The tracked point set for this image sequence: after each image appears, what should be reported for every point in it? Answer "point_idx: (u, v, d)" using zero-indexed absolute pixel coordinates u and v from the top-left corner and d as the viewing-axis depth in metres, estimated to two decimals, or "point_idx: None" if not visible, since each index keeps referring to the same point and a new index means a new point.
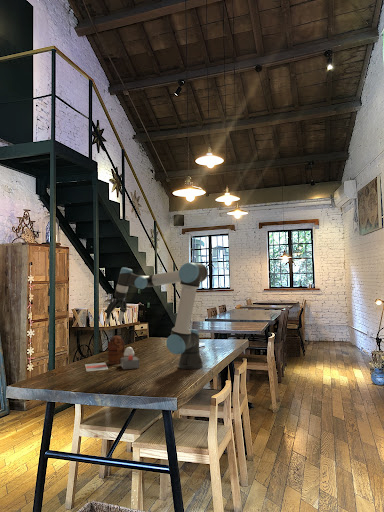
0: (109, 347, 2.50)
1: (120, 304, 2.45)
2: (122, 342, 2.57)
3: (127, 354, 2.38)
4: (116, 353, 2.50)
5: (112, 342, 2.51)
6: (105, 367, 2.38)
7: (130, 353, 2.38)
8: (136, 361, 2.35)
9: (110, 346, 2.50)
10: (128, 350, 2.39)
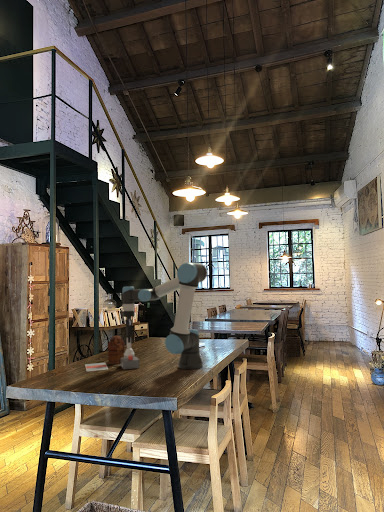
0: (109, 347, 2.50)
1: None
2: (122, 342, 2.57)
3: (127, 355, 2.38)
4: (116, 353, 2.50)
5: (112, 342, 2.51)
6: (105, 367, 2.38)
7: (130, 354, 2.38)
8: (136, 361, 2.35)
9: (110, 346, 2.50)
10: (128, 351, 2.39)
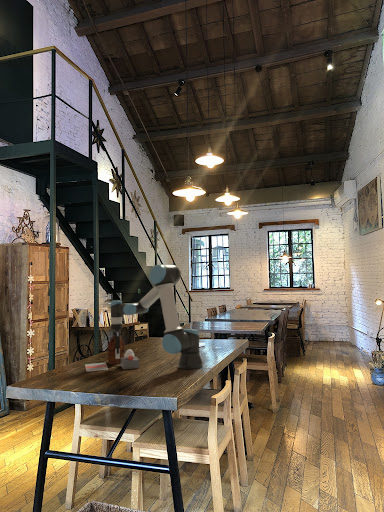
0: (109, 347, 2.50)
1: None
2: (122, 342, 2.57)
3: (127, 356, 2.38)
4: None
5: (112, 342, 2.51)
6: (105, 367, 2.38)
7: (130, 355, 2.38)
8: (136, 361, 2.35)
9: (110, 346, 2.50)
10: (128, 352, 2.39)
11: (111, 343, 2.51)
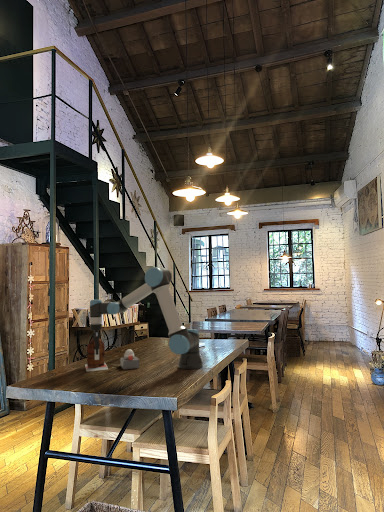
0: (88, 350, 2.38)
1: None
2: (102, 345, 2.44)
3: (127, 356, 2.38)
4: None
5: (91, 345, 2.39)
6: (105, 367, 2.38)
7: (130, 355, 2.38)
8: (136, 361, 2.35)
9: (89, 349, 2.38)
10: (128, 352, 2.39)
11: (90, 346, 2.38)
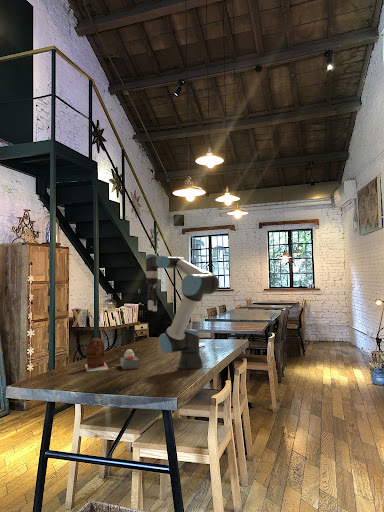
0: (88, 350, 2.38)
1: None
2: (102, 345, 2.44)
3: (127, 356, 2.38)
4: (95, 356, 2.38)
5: (91, 345, 2.39)
6: (105, 367, 2.38)
7: (130, 355, 2.38)
8: (136, 361, 2.35)
9: (89, 349, 2.38)
10: (128, 352, 2.39)
11: (90, 346, 2.38)
